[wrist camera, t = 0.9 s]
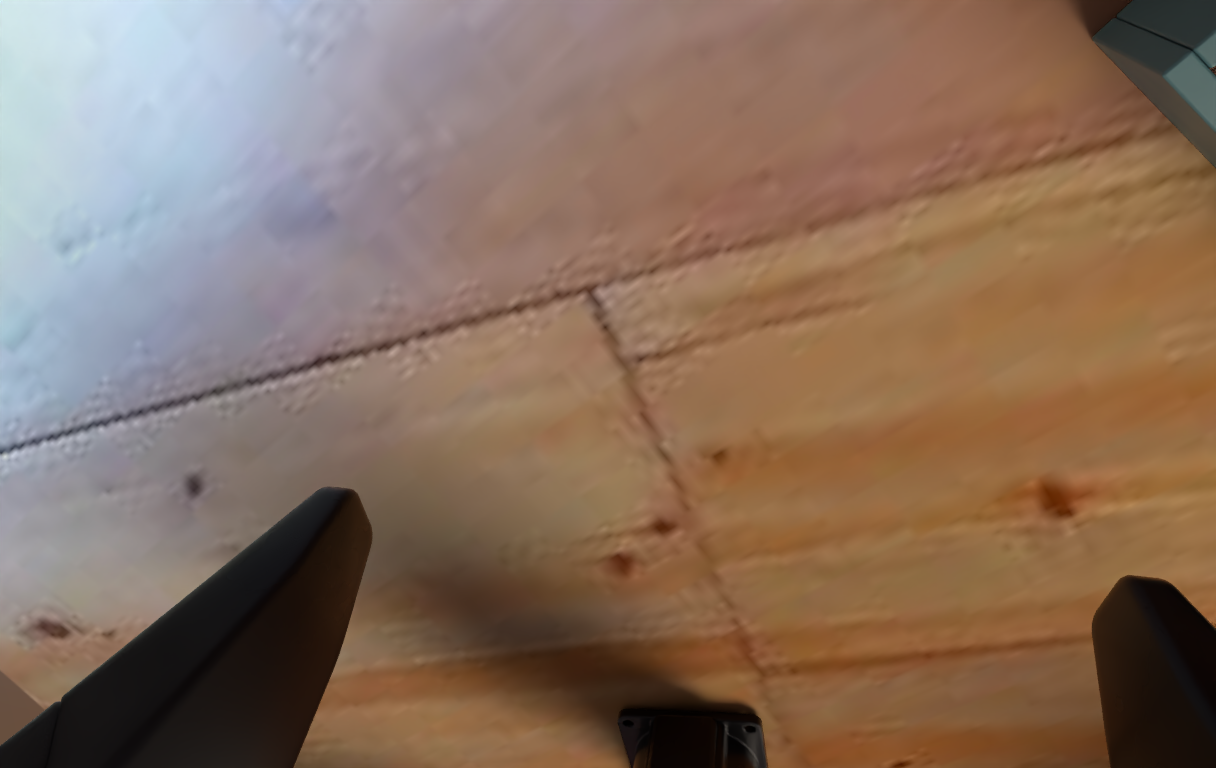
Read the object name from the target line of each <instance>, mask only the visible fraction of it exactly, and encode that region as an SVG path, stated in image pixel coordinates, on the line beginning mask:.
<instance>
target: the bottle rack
mask: <svg viewBox="0 0 1216 768" xmlns="http://www.w3.org/2000/svg"><path fill="white" fill-rule="evenodd" d="M1092 39H1093V41H1094V42H1095V43H1096V45H1097V46H1098V47H1099V48H1100V49H1101V50H1102V51H1103V52H1104V53H1105V54H1106V55H1107V56H1108V57H1109V58H1110V59H1111V60H1112V61H1113V62H1114V63H1115V64H1116V65H1117V66H1118V67H1119V68H1120V69H1121V70H1122V72H1123V73H1124V74H1125V75H1126V76H1127V77H1128V78H1129V79H1130V80H1131V81H1132V82H1133V83H1134V84H1135V85H1136V86H1137V87H1138V88H1139V89H1140V90H1141V91H1142V92H1143V93H1144V94H1145V95H1146V96H1147V97H1148V98H1149V100H1150V101H1151V102H1152V103H1153V104H1154V105H1155V106H1156V107H1157V108H1158V109H1159V110H1160V111H1161V112H1162V113H1163V114H1164V115H1165V116H1166V117H1167V118H1168V119H1169V120H1170V121H1171V122H1172V123H1173V124H1174V125H1175V126H1176V128H1177V129H1178V130H1179V131H1180V132H1181V133H1182V134H1183V135H1184V136H1185V137H1186V138H1187V139H1188V140H1189V141H1190V142H1191V143H1192V144H1193V145H1194V146H1195V147H1196V148H1197V149H1198V150H1199V151H1200V152H1201V153H1202V155H1203V156H1204V157H1205V158H1206V159H1207V160H1208V161H1209V162H1210V163H1211V164H1212V165H1213V166H1214V167H1215V168H1216V75H1215V74H1214V73H1213V72H1212V71H1211V70H1210V69H1209V68H1212V67H1214V66H1216V0H1132V1H1131V2H1130V3H1129V4H1128V5H1127V6H1126V7H1125V8H1124V9H1123V10H1122V11H1120V12H1119V13H1118V15H1117V18H1113V19H1112V20H1111V21H1109V22H1108V23H1107V24H1106V25H1105V26H1104V27H1103V28H1102V29H1101V30H1100V31H1099V32H1097V33H1096V34H1095V35H1094V36H1093V38H1092ZM1208 67H1209V68H1208Z"/></svg>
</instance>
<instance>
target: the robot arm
mask: <svg viewBox="0 0 1216 768" xmlns="http://www.w3.org/2000/svg"><path fill="white" fill-rule="evenodd" d="M371 544H372V527H371V524H370V522H369V519H368V517H367V515H366V512H365V510H364V508H363V505H362V503H361V500H360V498H359V496H358V494H357V493H356V492H355V491H354V490H352V489H346V488H337V487H324V488H321V489H319V490H318V491H316V492H315V493H314V494H312V495H311V496H310V497H309V498H308V499H306V500H305V501H304V502H303V503H301V504H300V505H299V506H298V507H296V508H295V509H294V510H293V511H291V512H290V513H289V514H288V515H286V516H285V517H284V518H283V519H282V520H280V521H279V522H278V523H277V524H275V525H274V526H273V527H272V528H270V529H269V530H268V531H267V532H265V533H264V534H263V535H262V536H260V537H259V538H258V539H257V540H256V541H254V542H253V543H252V544H251V545H249V546H248V547H247V548H246V549H244V550H243V551H242V552H241V553H239V554H238V555H237V556H236V557H234V558H233V559H232V560H231V561H230V562H228V563H227V564H226V565H225V566H223V567H222V568H221V569H220V570H218V571H217V572H216V573H215V574H213V575H212V576H211V577H210V578H208V579H207V580H206V581H205V582H204V583H202V584H201V585H200V586H199V587H197V588H196V589H195V590H194V591H192V592H191V593H190V594H189V595H187V596H186V597H185V598H184V599H183V600H181V601H180V602H179V603H178V604H176V605H175V606H174V607H173V608H171V609H170V610H169V611H168V612H166V613H165V614H164V615H163V616H161V617H160V618H159V619H158V620H157V621H155V622H154V623H153V624H152V625H150V626H149V627H148V628H147V629H145V630H144V631H143V632H142V633H140V634H139V635H138V636H137V637H135V638H134V639H133V640H132V641H131V642H129V643H128V644H127V645H126V646H124V647H123V648H122V649H121V650H119V651H118V652H117V653H116V654H114V655H113V656H112V657H111V658H109V659H108V660H107V661H106V662H105V663H103V664H102V665H101V666H100V667H98V668H97V669H96V670H95V671H93V672H92V673H91V674H90V675H88V676H87V677H86V678H85V679H83V680H82V681H81V682H80V683H79V684H77V685H76V686H75V687H74V688H72V689H71V690H70V691H69V692H67V693H66V694H65V695H64V696H63V697H62V699H61V702H55V703H53V704H52V705H51V706H50V707H48V708H47V709H46V710H45V711H44V712H42V713H41V714H40V715H39V716H37V717H36V718H35V719H34V720H32V721H31V722H30V723H29V724H27V725H26V726H25V727H24V728H22V729H21V730H20V731H19V732H17V733H16V734H15V735H13V736H12V737H11V738H10V739H8V740H7V741H6V742H5V743H3V744H2V745H1V746H0V768H293V767H294V765H295V762H296V760H297V757H298V755H299V753H300V750H301V748H302V745H303V743H304V740H305V738H306V736H307V733H308V731H309V728H310V726H311V723H312V721H313V718H314V716H315V714H316V711H317V709H318V706H319V704H320V701H321V699H322V696H323V694H324V692H325V689H326V687H327V684H328V682H329V679H330V677H331V675H332V672H333V669H334V667H335V664H336V662H337V659H338V656H339V654H340V651H341V647H342V644H343V641H344V638H345V635H346V631H347V628H348V624H349V621H350V617H351V614H352V610H353V607H354V603H355V600H356V596H357V593H358V590H359V586H360V583H361V579H362V576H363V572H364V569H365V565H366V562H367V558H368V555H369V551H370V548H371ZM1092 638H1093V645H1094V653H1095V660H1096V668H1097V675H1098V683H1099V690H1100V698H1101V705H1102V712H1103V720H1104V727H1105V735H1106V742H1107V749H1108V755H1109V761H1110V767H1111V768H1216V629H1215V627H1214V626H1213V625H1212V624H1211V623H1210V622H1209V621H1208V620H1207V619H1206V618H1205V617H1204V616H1203V615H1202V614H1201V613H1200V612H1199V611H1198V610H1197V609H1196V608H1195V607H1194V606H1193V605H1192V604H1191V603H1190V602H1189V601H1188V600H1187V599H1186V598H1185V597H1184V595H1183V594H1182V593H1181V592H1180V591H1179V590H1178V589H1177V588H1176V587H1175V586H1173V585H1172V584H1171V583H1169V582H1167V581H1165V580H1163V579H1159V578H1150V577H1141V576H1132V575H1127V576H1125V577H1122V578H1120V579H1119V581H1118V582H1117V583H1116V584H1115V586H1114V587H1113V589H1112V590H1111V591H1110V593H1109V594H1108V596H1107V597H1106V598H1105V600H1104V601H1103V602H1102V604H1101V605H1100V607H1099V608H1098V609H1097V611H1096V613H1095V615H1094V618H1093V622H1092ZM618 725H619V728H620V732H621V735H622V738H623V742H624V745H625V748H626V751H627V755H628V758H629V761H630V765H631V768H768V763H767V756H766V749H765V742H764V735H763V728H762V721H761V719H760V718H759V717H758V716H755V715H752V714H737V713H714V712H690V711H666V710H643V709H623V710H621V711H620V712H619V717H618Z"/></svg>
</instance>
